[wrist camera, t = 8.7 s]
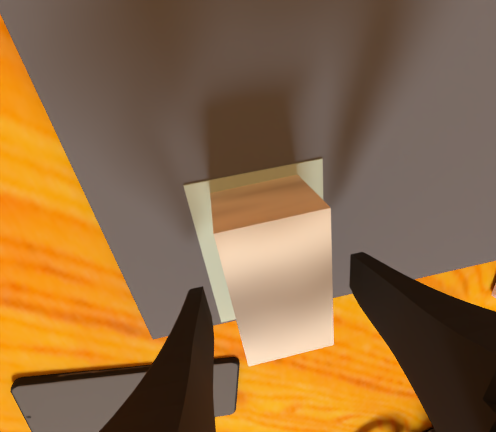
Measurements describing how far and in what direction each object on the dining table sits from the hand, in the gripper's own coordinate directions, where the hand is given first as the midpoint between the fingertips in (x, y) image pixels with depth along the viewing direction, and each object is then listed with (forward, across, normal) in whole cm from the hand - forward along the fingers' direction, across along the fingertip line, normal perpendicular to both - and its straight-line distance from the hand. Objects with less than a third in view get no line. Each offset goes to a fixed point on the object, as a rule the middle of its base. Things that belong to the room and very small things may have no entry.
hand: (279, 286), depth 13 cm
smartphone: (+4, +11, +11) cm, 16 cm away
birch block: (+3, 0, 0) cm, 3 cm away
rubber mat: (+3, -5, -4) cm, 7 cm away
